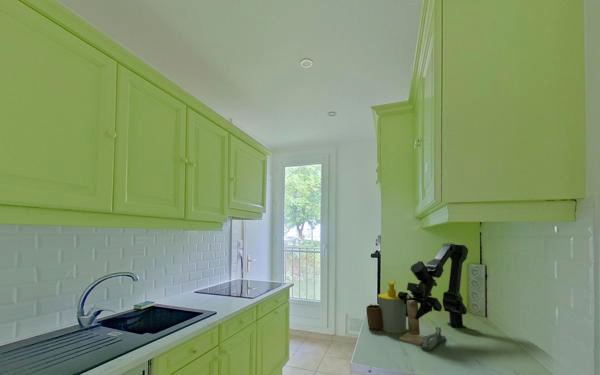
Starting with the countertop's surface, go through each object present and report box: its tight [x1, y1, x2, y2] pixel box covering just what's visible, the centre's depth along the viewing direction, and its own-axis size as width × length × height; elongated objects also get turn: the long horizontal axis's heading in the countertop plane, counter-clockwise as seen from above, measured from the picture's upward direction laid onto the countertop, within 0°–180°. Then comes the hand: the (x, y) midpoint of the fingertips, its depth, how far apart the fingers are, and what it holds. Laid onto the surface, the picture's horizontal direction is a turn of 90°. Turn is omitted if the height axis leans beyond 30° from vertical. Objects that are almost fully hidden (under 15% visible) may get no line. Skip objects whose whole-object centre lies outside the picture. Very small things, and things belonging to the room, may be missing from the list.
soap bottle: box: [377, 281, 407, 334], centre depth 145 cm, size 13×13×21 cm
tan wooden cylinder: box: [407, 300, 421, 335], centre depth 129 cm, size 4×4×13 cm
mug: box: [365, 304, 383, 331], centre depth 147 cm, size 12×8×9 cm, turn 1°
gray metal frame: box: [421, 326, 446, 353], centre depth 123 cm, size 19×3×4 cm, turn 139°
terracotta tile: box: [399, 331, 425, 346], centre depth 128 cm, size 9×9×1 cm
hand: (411, 317), depth 129 cm, fingers closed on tan wooden cylinder, 4 cm apart
